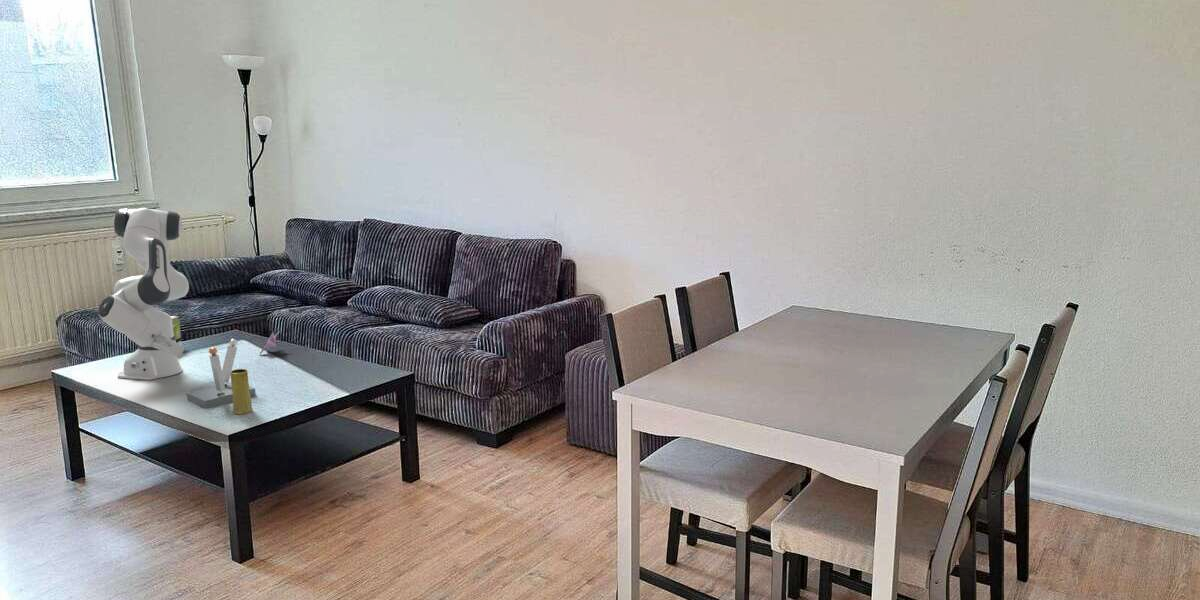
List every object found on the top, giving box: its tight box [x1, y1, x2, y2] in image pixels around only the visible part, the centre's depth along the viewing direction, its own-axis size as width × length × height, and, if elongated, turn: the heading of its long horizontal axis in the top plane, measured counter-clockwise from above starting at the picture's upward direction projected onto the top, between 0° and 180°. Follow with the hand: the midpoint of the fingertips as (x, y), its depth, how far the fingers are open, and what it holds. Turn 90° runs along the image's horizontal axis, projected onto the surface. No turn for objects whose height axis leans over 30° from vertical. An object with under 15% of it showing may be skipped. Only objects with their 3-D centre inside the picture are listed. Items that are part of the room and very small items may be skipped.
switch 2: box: [221, 338, 238, 384], centre depth 311 cm, size 3×4×16 cm
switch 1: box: [208, 347, 225, 392], centre depth 298 cm, size 3×4×16 cm
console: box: [186, 381, 257, 409], centre depth 305 cm, size 18×14×3 cm
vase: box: [230, 368, 253, 415], centre depth 289 cm, size 6×6×14 cm
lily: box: [258, 331, 282, 356], centre depth 362 cm, size 12×12×10 cm
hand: (180, 355), depth 288 cm, fingers closed
